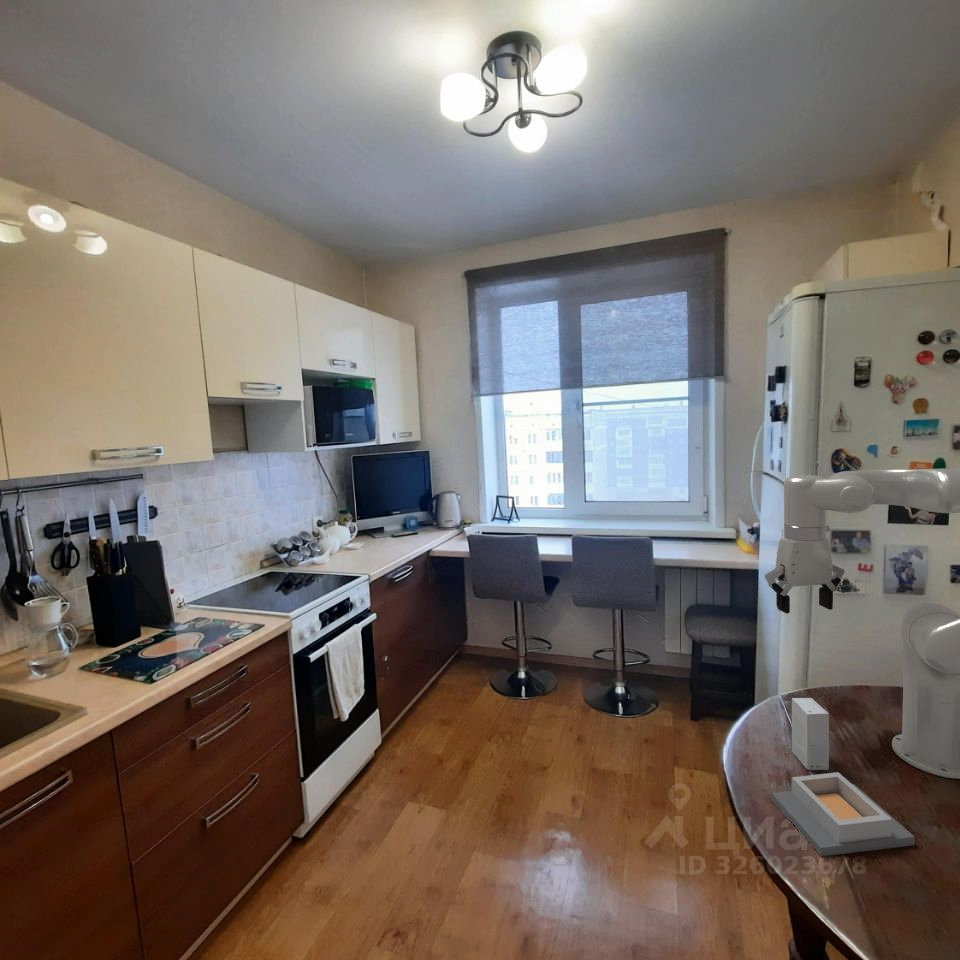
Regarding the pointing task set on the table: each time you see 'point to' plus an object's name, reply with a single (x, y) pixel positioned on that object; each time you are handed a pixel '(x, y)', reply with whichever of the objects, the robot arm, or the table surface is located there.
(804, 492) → the robot arm
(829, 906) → the table surface
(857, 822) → the panel
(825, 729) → the skincare box
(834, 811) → the button
